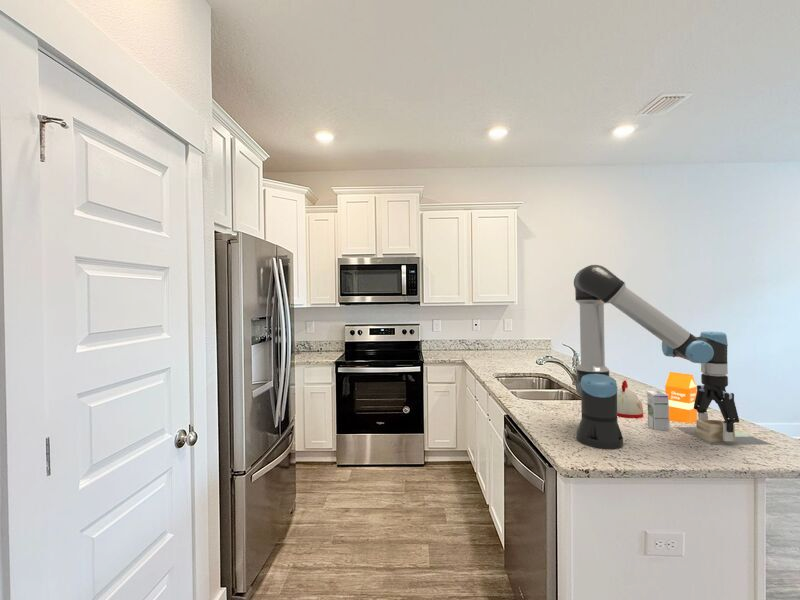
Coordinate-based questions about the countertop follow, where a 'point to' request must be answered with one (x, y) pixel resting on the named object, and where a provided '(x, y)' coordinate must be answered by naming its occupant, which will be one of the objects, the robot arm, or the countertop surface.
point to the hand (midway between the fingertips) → (715, 435)
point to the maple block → (711, 430)
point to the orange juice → (681, 397)
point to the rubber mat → (739, 440)
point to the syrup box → (658, 410)
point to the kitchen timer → (628, 403)
